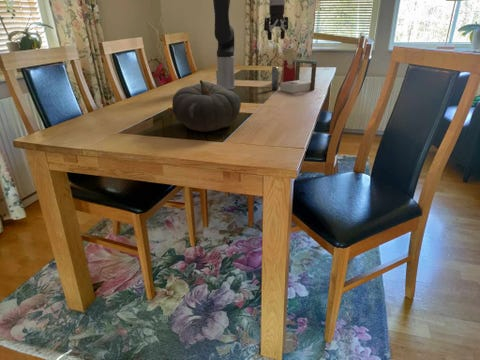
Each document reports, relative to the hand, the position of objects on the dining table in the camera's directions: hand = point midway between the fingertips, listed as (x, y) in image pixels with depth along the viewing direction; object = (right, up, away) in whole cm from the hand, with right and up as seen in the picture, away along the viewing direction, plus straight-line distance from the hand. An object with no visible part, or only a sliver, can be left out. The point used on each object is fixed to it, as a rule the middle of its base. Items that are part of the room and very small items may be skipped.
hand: (276, 39), depth 174 cm
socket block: (+12, -24, +10) cm, 28 cm away
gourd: (-30, -53, -47) cm, 77 cm away
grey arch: (+16, -22, +12) cm, 30 cm away
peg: (0, -23, +11) cm, 26 cm away
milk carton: (+10, -14, +30) cm, 35 cm away
